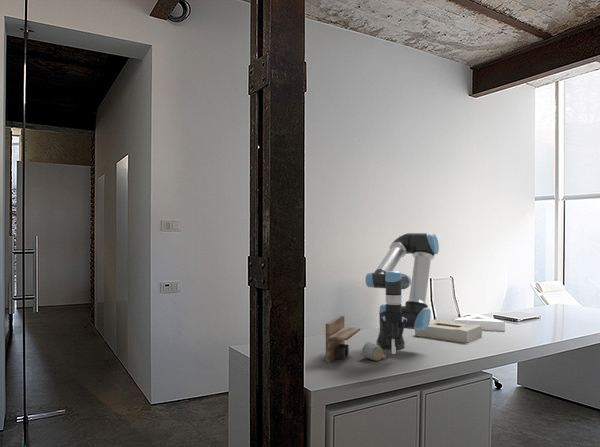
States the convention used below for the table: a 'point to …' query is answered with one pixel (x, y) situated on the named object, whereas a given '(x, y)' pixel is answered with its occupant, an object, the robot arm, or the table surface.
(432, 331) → the box
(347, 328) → the walnut shelf
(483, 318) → the triangle block
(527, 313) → the table surface
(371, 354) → the ceramic mug
